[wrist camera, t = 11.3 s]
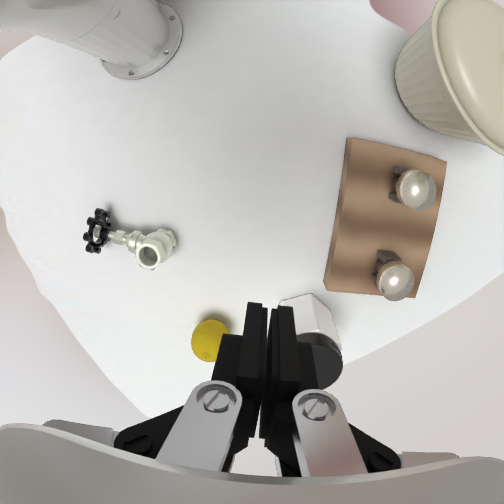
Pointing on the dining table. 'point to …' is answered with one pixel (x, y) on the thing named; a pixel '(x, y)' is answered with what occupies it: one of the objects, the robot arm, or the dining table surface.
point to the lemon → (208, 339)
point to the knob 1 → (394, 279)
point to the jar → (318, 336)
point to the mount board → (379, 217)
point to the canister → (457, 72)
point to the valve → (130, 240)
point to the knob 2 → (415, 189)
